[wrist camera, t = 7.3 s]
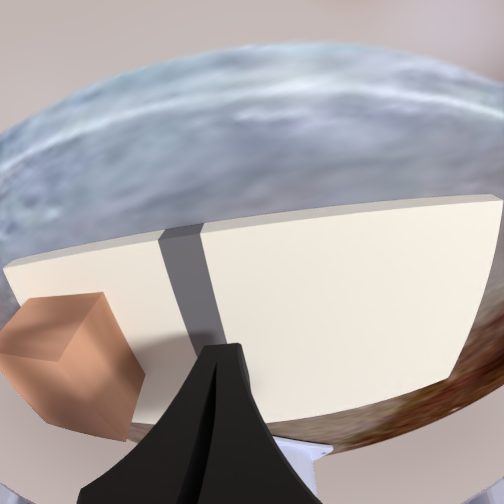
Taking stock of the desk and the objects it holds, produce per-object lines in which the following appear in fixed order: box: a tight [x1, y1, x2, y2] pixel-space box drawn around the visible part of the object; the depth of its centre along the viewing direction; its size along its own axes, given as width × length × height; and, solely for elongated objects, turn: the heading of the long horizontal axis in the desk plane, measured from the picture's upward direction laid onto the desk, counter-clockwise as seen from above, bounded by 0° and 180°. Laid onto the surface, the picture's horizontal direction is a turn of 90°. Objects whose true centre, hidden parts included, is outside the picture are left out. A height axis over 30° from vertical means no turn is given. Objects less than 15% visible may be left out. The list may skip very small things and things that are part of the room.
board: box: [3, 194, 503, 424], centre depth 12 cm, size 24×12×1 cm, turn 98°
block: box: [0, 292, 145, 442], centre depth 9 cm, size 5×5×4 cm
